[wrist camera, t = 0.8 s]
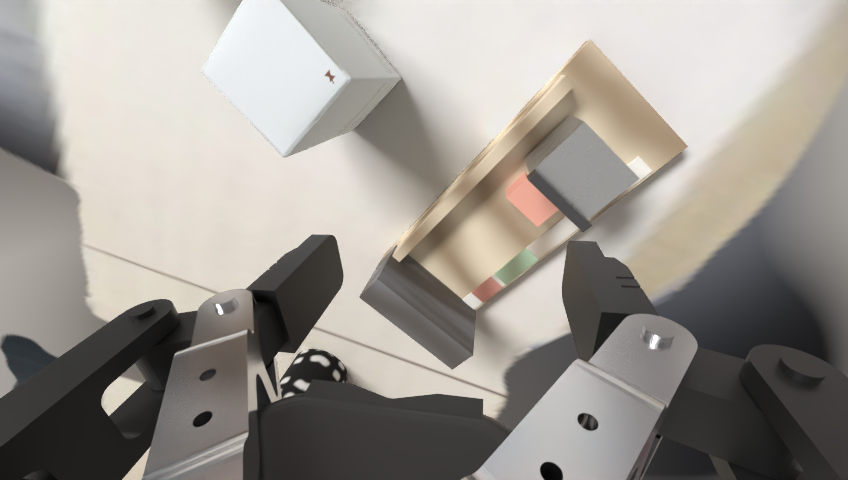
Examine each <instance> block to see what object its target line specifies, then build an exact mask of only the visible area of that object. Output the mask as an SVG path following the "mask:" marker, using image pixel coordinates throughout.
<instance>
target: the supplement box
mask: <svg viewBox="0 0 848 480" xmlns="http://www.w3.org/2000/svg"><path fill="white" fill-rule="evenodd" d="M201 73H202V74H203V75H204V76H205V77H206V78H207V79H208V80H209V81H210V82H211V83H212V84H213V85H214V86H215V87H216V88H217V89H218V90H219V91H220V92H221V93H222V94H223V95H224V96H225V97H226V98H227V99H228V100H229V101H230V102H231V103H232V104H233V105H234V106H235V107H236V108H237V109H238V110H239V111H240V112H241V113H242V114H243V116H244V117H245V118H246V119H248V120H249V122H250V123H251V124H252V125H253V126H254V127H255V128H256V129H257V130H258V131H259V132H260V133H261V134H262V135H263V136H264V138H265V139H266V140H267V141H268V142H269V143H270V144H271V145H272V146H273V147H274V148H275V149H276V150H277V151H278V152H279V153H280V155H281V156H282V157H288V156H290V155H293V154H296V153H298V152H301V151H303V150H306V149H308V148H310V147H313V146H315V145H318V144H320V143H322V142H325V141H327V140H329V139H332V138H334V137H337V136H339V135H341V134H344V133H347V132H349V131H352V130H354V129H355V128H356V127H357V126H358V125H359V124H360V123H361V122H362V121H363V120H364V119H365V118H366V116H367V115H368V114H369V113H370V112H371V111H372V110H373V109H374V108H375V107H376V106H377V105H378V104H379V103H380V101H381V100H382V99H383V98H384V97H385V96H386V95H387V94H388V93H389V92H390V91H391V90H392V89H393V87H394V86H395V85H396V84H397V83H398V82H399V81H400V80H401V76H400V75H399V74H398V73H397V72H396V70H395V69H394V68H393V67H392V65H391V64H390V63H389V62H388V61H387V59H386V58H385V57H384V56H383V54H382V53H381V52H380V51H379V50H378V48H377V47H376V46H375V45H374V43H373V42H372V41H371V40H370V39H369V37H368V36H367V35H366V34H365V32H364V31H363V30H362V29H361V27H360V26H359V25H358V24H357V23H356V21H355V20H354V19H353V18H352V17H351V15H350V14H349V13H348V12H347V11H345V10H342V9H340V8H338V7H335V6H333V5H330V4H328V3H325V2H323V1H321V0H242V2H241V4H240V5H239V7H238V9H237V10H236V12H235V14H234V15H233V17H232V19H231V21H230V22H229V24H228V26H227V27H226V29H225V31H224V33H223V34H222V36H221V38H220V39H219V41H218V43H217V44H216V46H215V48H214V49H213V51H212V53H211V54H210V56H209V58H208V59H207V61H206V63H205V65H204V66H203V68H202V69H201Z"/></svg>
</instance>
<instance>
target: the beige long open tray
mask: <svg viewBox="0 0 848 480" xmlns="http://www.w3.org/2000/svg"><path fill="white" fill-rule="evenodd" d="M569 115H572V116H574V117H576V118H578V119H580V120H582V121H584V122H585V123H586V124H587V125H588V126H589V127H590V128H591V129H592V130H593V131H594V132H595V133H596V134H597V135H598V136H599V137H600V138H601V139H602V140H603V141H604V142H605V143H606V144H607V145H608V146H609V147H610V148H611V149H612V150H613V152H614V153H615V154H616V155H617V156H618V157H619V158H620V159H621V160H622V161H623V162H624V163H625V164H626V165H627V166H628V167H629V168H630V169H631V170H632V171H633V172H634V173H635V174H636V175H637V176H638V177H639V178H640V179H639V180H638V181H636V182H635V183H634V184H633V185H631V186H630V187H629V188H627V189H626V190H625V191H624V192H622V193H621V194H620V195H618V196H617V197H616V198H615V199H613V200H612V201H611V202H609V203H608V204H607V205H606V206H604V207H603V208H602V209H600V210H599V211H598V212H597V213H595V214H594V215H593V216H592V217H590V218H589V219H588V221H589V222H591V221H592V220H593V219H595V218H596V217H597V216H599V215H600V214H601V213H603V212H604V211H605V210H606V209H608V208H609V207H610V206H612V205H613V204H614V203H615V202H617V201H618V200H619V199H621V198H622V197H623V196H625V195H626V194H627V193H628V192H630V191H631V190H632V189H634V188H635V187H636V186H637V185H639V184H640V183H641V182H643V181H644V180H645V179H647V178H648V177H649V176H650V175H652V174H653V173H654V172H656V171H657V170H658V169H659V168H661V167H662V166H663V165H665V164H666V163H667V162H669V161H670V160H671V159H672V158H674V157H675V156H676V155H678V154H679V153H680V152H681V151H683V150H684V149H685V148H687V147H688V146H687V145H686V144H685V143H684V142H683V141H682V139H681V138H680V137H679V136H678V135H677V134H676V133H675V132H674V131H673V130H672V128H671V127H670V126H669V125H668V124H667V123H666V122H665V121H664V120H663V119H662V117H661V116H660V115H659V114H658V113H657V112H656V111H655V110H654V109H653V108H652V106H651V105H650V104H649V103H648V102H647V101H646V100H645V99H644V98H643V97H642V95H641V94H640V93H639V92H638V91H637V90H636V89H635V88H634V87H633V86H632V84H631V83H630V82H629V81H628V80H627V79H626V78H625V77H624V76H623V75H622V73H621V72H620V71H619V70H618V69H617V68H616V67H615V66H614V65H613V64H612V63H611V61H610V60H609V59H608V58H607V57H606V56H605V55H604V54H603V53H602V52H601V50H600V49H599V48H598V47H597V46H596V45H595V44H594V43H593V42H592V41H591V40H589V41H586V42H585V43H584V44H583V45H582V46H581V47H580V48H579V49H578V50H577V51H576V53H575V54H574V55H573V56H572V57H571V58H570V59H569V60H568V61H567V62H566V63H565V64H564V65H563V66H562V67H561V68H560V69H559V71H558V72H557V73H556V74H555V75H554V76H553V77H552V78H551V79H550V80H549V81H548V82H547V83H546V84H545V85H544V86H543V87H542V89H541V90H540V91H539V92H538V93H537V94H536V95H535V96H534V97H533V98H532V99H531V100H530V101H529V102H528V103H527V104H526V105H525V106H524V108H523V109H522V110H521V111H520V112H519V113H518V114H517V115H516V116H515V117H514V118H513V119H512V120H511V121H510V122H509V123H508V124H507V126H506V127H505V128H504V129H503V130H502V131H501V132H500V133H499V134H498V135H497V136H496V137H495V138H494V139H493V140H492V141H491V142H490V144H489V145H488V146H487V147H486V148H485V149H484V150H483V151H482V152H481V153H480V154H479V155H478V156H477V157H476V158H475V159H474V160H473V161H472V163H471V164H470V165H469V166H468V167H467V168H466V169H465V170H464V171H463V172H462V173H461V174H460V175H459V176H458V177H457V178H456V179H455V181H454V182H453V183H452V184H451V185H450V186H449V187H448V188H447V189H446V190H445V191H444V192H443V193H442V194H441V195H440V196H439V197H438V199H437V200H436V201H435V202H434V203H433V204H432V205H431V206H430V207H429V208H428V209H427V210H426V211H425V212H424V213H423V214H422V215H421V216H420V218H419V219H418V220H417V221H416V222H415V223H414V224H413V225H412V226H411V227H410V228H409V229H408V230H407V231H406V232H405V233H404V234H403V236H402V237H401V238H400V239H399V240H398V241H397V242H396V243H395V244H394V245H393V246H392V247H391V248H390V249H389V250H388V251H387V252H386V254H385V255H384V256H383V258H382V259H381V261H380V263H379V265H378V266H377V268H376V270H375V271H374V273H373V275H372V276H371V278H370V280H369V282H368V283H367V285H366V287H365V288H364V290H363V292H362V293H361V295H360V298H361V299H362V300H363V301H365V302H366V303H367V304H369V305H370V306H371V307H372V308H374V309H375V310H376V311H378V312H379V313H380V314H381V315H383V316H384V317H385V318H387V319H388V320H389V321H390V322H392V323H393V324H394V325H396V326H397V327H398V328H399V329H401V330H402V331H403V332H405V333H406V334H407V335H408V336H410V337H411V338H412V339H414V340H415V341H416V342H418V343H419V344H420V345H421V346H423V347H424V348H425V349H427V350H428V351H429V352H430V353H432V354H433V355H434V356H436V357H437V358H438V359H439V360H441V361H442V362H443V363H445V364H446V365H447V366H448V367H450V368H451V369H454V368H455V367H457V366H458V365H460V364H461V363H462V362H464V361H465V360H467V359H468V358H470V357H471V356H473V348H474V331H475V315H476V310H477V309H478V308H480V307H481V306H482V305H483V304H485V303H486V302H487V301H489V300H490V299H491V298H492V297H494V296H495V295H496V294H498V293H499V292H500V291H502V290H503V289H504V288H505V287H507V286H508V285H509V284H511V283H512V282H513V281H514V280H516V279H517V278H518V277H520V276H521V275H522V274H524V273H525V272H526V271H527V270H529V269H530V268H531V267H533V266H534V265H535V264H536V263H538V262H539V261H540V260H542V259H543V258H544V257H546V256H547V255H548V254H549V253H551V252H552V251H553V250H555V249H556V248H557V247H558V246H560V245H561V244H562V243H564V242H565V241H566V240H568V239H569V238H570V237H571V236H573V235H574V234H575V233H577V232H578V231H579V230H580V229H579V228H578V227H577V226H576V225H575V224H574V223H573V222H571V221H570V220H569V219H568V218H567V217H566V216H565V215H564V214H563V213H562V212H561V211H560V210H558V211H556V212H555V213H554V214H553V215H552V216H550V217H549V218H548V219H547V220H546V221H544V222H543V223H542V224H541V225H540V226H538V227H537V226H536V225H535V224H534V223H533V222H532V221H531V220H529V219H528V218H527V217H526V216H525V215H524V214H523V213H522V212H521V211H520V210H519V209H518V208H516V207H515V206H514V205H513V204H512V203H511V202H510V201H509V200H508V199H507V198H506V191H505V190H506V189H507V188H508V187H509V186H510V185H511V184H512V183H513V182H514V181H516V180H517V179H518V178H519V177H520V176H521V175H522V174H523V173H524V172H525V173H526V174H527V175H528V174H529V170H528V168H527V165H526V163H525V160H524V158H525V157H526V156H527V155H528V154H529V153H530V152H532V151H533V150H534V149H535V148H536V147H537V146H538V145H539V144H540V143H541V142H542V141H543V140H544V139H545V138H546V137H547V136H548V135H549V134H550V133H551V132H552V131H553V130H554V129H555V128H556V127H557V126H558V125H559V124H560V123H561V122H562V121H564V120H565V119H566V118H567V117H568V116H569Z"/></svg>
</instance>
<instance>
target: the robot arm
mask: <svg viewBox="0 0 848 480" xmlns="http://www.w3.org/2000/svg"><path fill="white" fill-rule="evenodd" d="M342 283H343V269H342V264H341V260H340V255H339V250H338V245H337V241H336V238H335V237H334V236H333V235H311V236H310V237H309V238H307V239H306V240H305V241H304V242H303V243H302V244H301V245H300V246H299V247H298V248H296V249H294V250H292V251H290V252H288V253H286V254H285V255H284V256H283V257H281V258H280V259H279V260H278V261H277V263H275V264H274V265H272V266H271V267H270V268H269V270H267V271H266V272H265V273H263V274H262V275H261V276H260V277H259V278H258V279H257V280H256V281H254V282H253V283H252V284H251V285H250V286H249V287H248V288H247V289H234V290H229V291H225V292H222V293H219V294H217V295H215V296H213V297H211V298H209V299H208V300H207V301H205V302H204V303H203V304H202V305H201V306H200V307H199V309H198V311H192V312H185V313H177V311H176V309H175V307H174V305H173V303H172V302H171V301H170V300H167V299H159V300H153V301H148V302H145V303H142V304H139V305H137V306H135V307H133V308H131V309H129V310H127V311H125V312H124V313H122V314H121V315H119V316H118V317H116V318H115V319H113V320H112V321H111V322H109V323H108V324H106V325H105V326H103V327H102V328H101V329H99V330H98V331H96V332H95V333H93V334H92V335H91V336H89V337H88V338H86V339H85V340H83V341H82V342H81V343H79V344H78V345H76V346H75V347H73V348H72V349H71V350H69V351H68V352H66V353H65V354H63V355H62V356H60V357H59V358H58V359H56V360H55V361H53V362H52V363H50V364H49V365H48V366H46V367H45V368H43V369H42V370H40V371H39V372H38V373H36V374H35V375H33V376H32V377H30V378H29V379H28V380H26V381H25V382H23V383H22V384H20V385H19V386H18V387H16V388H15V389H13V390H12V391H10V392H9V393H7V394H6V395H5V396H3V397H2V398H0V480H122V479H123V478H124V477H125V475H126V474H127V473H128V472H129V471H130V470H131V468H132V467H133V466H134V465H135V464H136V463H137V461H138V460H139V459H140V458H141V457H142V456H143V454H144V453H145V452H146V451H147V450H148V449H149V447H150V446H151V447H150V451H149V455H148V459H147V463H146V467H145V471H144V474H143V477H142V480H641V479H642V477H643V475H644V473H645V471H646V469H647V467H648V465H649V463H650V461H651V459H652V457H653V455H654V453H655V451H656V449H657V447H658V445H659V443H660V441H661V439H662V437H666V438H668V439H671V440H673V441H676V442H678V443H681V444H684V445H686V446H689V447H692V448H694V449H697V450H699V451H702V452H704V453H707V454H709V456H710V458H711V460H712V462H713V464H714V466H715V468H716V470H717V472H718V474H719V476H720V478H721V480H848V378H847V377H846V376H845V375H844V374H842V372H840V371H839V370H837V369H836V368H835V367H833V366H831V365H830V364H828V363H826V362H825V361H823V360H821V359H819V358H817V357H815V356H812V355H810V354H808V353H805V352H802V351H800V350H796V349H793V348H789V347H785V346H780V345H770V344H767V345H759V346H756V347H754V348H752V349H751V350H750V352H749V354H748V356H747V358H746V360H745V359H741V358H738V357H733V356H730V355H726V354H723V353H719V352H715V351H711V350H708V349H704V348H701V347H699V346H697V342H696V339H695V338H694V337H693V335H692V334H691V333H690V332H689V331H688V330H686V329H685V328H684V327H682V326H681V325H679V324H677V323H675V322H674V321H671V320H669V319H666V318H663V317H660V316H659V314H658V313H657V311H656V310H655V308H654V307H653V305H652V304H651V302H650V300H649V299H648V297H647V296H646V294H645V293H644V291H643V290H642V289H641V288H640V285H639V284H638V282H637V281H636V279H634V276H633V274H632V273H631V271H630V270H629V268H628V267H627V266H626V265H624V264H623V263H621V262H620V261H618V260H617V259H615V258H610V257H604V255H603V253H602V252H601V250H600V248H599V246H598V244H597V243H596V242H591V241H569V243H568V246H567V253H566V260H565V267H564V274H563V282H562V298H563V303H564V307H565V310H566V314H567V318H568V321H569V325H570V328H571V332H572V335H573V339H574V342H575V346H576V349H577V353H578V356H579V358H578V359H577V360H575V361H574V362H573V363H572V364H571V366H570V367H569V368H568V369H567V370H566V371H565V372H564V373H563V375H562V376H561V377H560V378H559V379H558V380H557V381H556V383H555V384H554V385H553V386H552V387H551V388H550V389H549V390H548V392H547V393H546V394H545V395H544V396H543V397H542V398H541V399H540V401H539V402H538V403H537V404H536V405H535V406H534V407H533V409H532V410H531V411H530V412H529V413H528V414H527V415H526V417H525V418H524V419H523V420H522V421H521V422H520V423H519V425H518V426H517V427H516V428H515V429H514V430H512V429H510V428H508V427H507V426H506V425H504V424H503V423H501V422H499V421H497V420H495V419H493V418H491V417H488V416H486V415H483V399H477V398H468V397H460V396H451V395H443V394H432V395H423V396H414V397H405V398H396V399H390V398H386V397H383V396H381V395H378V394H376V393H373V392H371V391H368V390H366V389H363V388H361V387H358V386H356V385H353V384H350V383H341V382H333V381H324V380H316V379H312V381H311V383H310V385H309V386H308V388H307V390H306V391H305V393H302V394H297V395H292V396H288V397H285V398H282V396H281V388H280V380H279V372H278V364H277V361H276V358H275V356H276V354H277V353H278V352H287V353H295V352H296V351H297V349H298V348H299V346H300V345H301V344H302V342H303V341H304V339H305V338H306V337H307V335H308V334H309V332H310V331H311V329H312V328H313V327H314V325H315V324H316V322H317V321H318V320H319V318H320V317H321V315H322V314H323V312H324V311H325V310H326V308H327V307H328V305H329V304H330V303H331V301H332V300H333V298H334V297H335V295H336V294H337V293H338V291H339V290H340V288H341V286H342ZM134 363H135V364H136V365H137V367H138V368H139V370H140V372H141V373H142V375H143V376H144V378H145V380H146V382H144V383H143V384H142V385H141V386H140V387H139V388H138V389H137V390H136V391H135V392H134V393H133V394H132V395H131V396H130V397H129V398H128V399H127V400H126V401H125V402H124V403H122V404H121V405H120V406H119V407H118V408H117V409H116V410H115V411H114V412H113V413H112V414H111V415H110V416H108V415H107V413H106V412H105V411H104V409H103V408H102V405H101V398H102V395H103V393H104V391H105V390H106V388H107V387H108V386H109V385H110V384H111V383H112V382H113V381H115V380H116V379H117V378H118V377H119V376H120V375H121V374H122V373H124V372H125V371H126V370H127V369H128V368H129V367H131V366H132V365H133V364H134Z"/></svg>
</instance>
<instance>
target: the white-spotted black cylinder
mask: <svg viewBox="0 0 848 480" xmlns="http://www.w3.org/2000/svg"><path fill="white" fill-rule="evenodd" d="M312 379H316V380H324V381H333V382H341V383H345V382H346V380H347V372H346V369H345V367H344V365H343V364H342V363H341V362H340V361H339V360H338V359H337V358H336V357H335V356H333V355H331V354H330V353H328V352H325V351H322V350H317V349H308V350H304V351H302V352H300V353H299V354H298V355H297V356H296V358H295V359H294V361H293V362H292V364H291V365H290V367H289V368H288V369H287V371H286V372H285V374H284V375H283V377H282V378H281V380H280V388H281V396H282V398H285V397H288V396H292V395H297V394H302V393H305V391H306V390H307V388H308V386H309V385H310V383H311V381H312Z"/></svg>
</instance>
